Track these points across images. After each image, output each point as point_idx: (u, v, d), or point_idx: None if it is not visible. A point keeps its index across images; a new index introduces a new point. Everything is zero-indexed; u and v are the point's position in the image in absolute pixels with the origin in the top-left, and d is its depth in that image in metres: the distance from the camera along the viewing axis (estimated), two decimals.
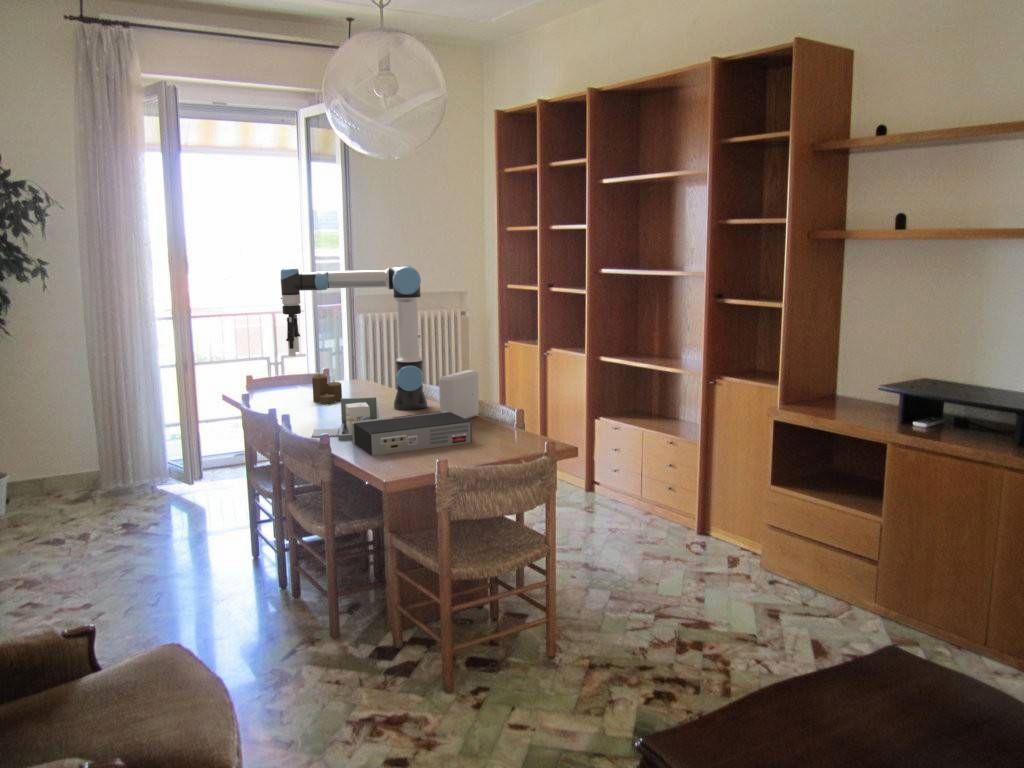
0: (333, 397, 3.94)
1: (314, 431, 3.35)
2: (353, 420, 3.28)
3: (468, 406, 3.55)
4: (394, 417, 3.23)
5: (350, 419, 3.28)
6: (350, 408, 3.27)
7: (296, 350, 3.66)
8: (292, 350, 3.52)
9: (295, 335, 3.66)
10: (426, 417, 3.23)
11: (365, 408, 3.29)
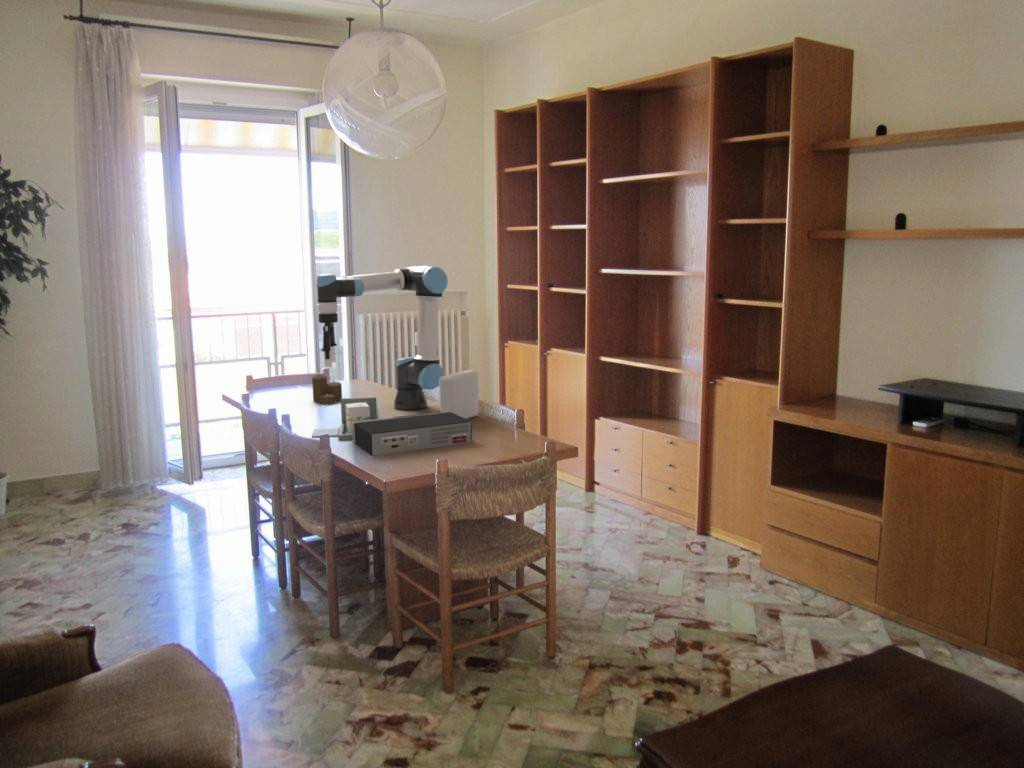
0: (333, 397, 3.94)
1: (314, 431, 3.35)
2: (353, 420, 3.28)
3: (468, 406, 3.55)
4: (394, 417, 3.23)
5: (350, 419, 3.28)
6: (350, 408, 3.27)
7: (332, 360, 3.47)
8: (328, 361, 3.34)
9: (331, 344, 3.47)
10: (426, 417, 3.23)
11: (365, 408, 3.29)
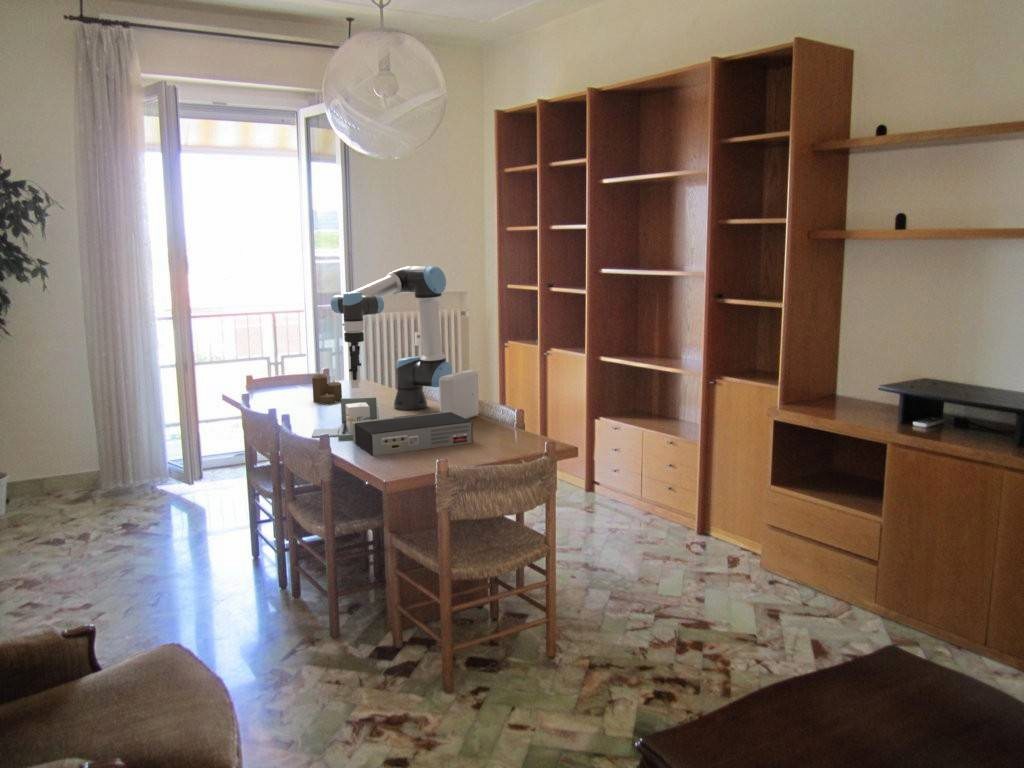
0: (333, 397, 3.94)
1: (314, 431, 3.35)
2: (353, 420, 3.28)
3: (468, 406, 3.55)
4: (395, 417, 3.23)
5: (350, 419, 3.28)
6: (350, 408, 3.27)
7: None
8: (355, 381, 3.23)
9: None
10: (427, 417, 3.23)
11: (365, 408, 3.29)
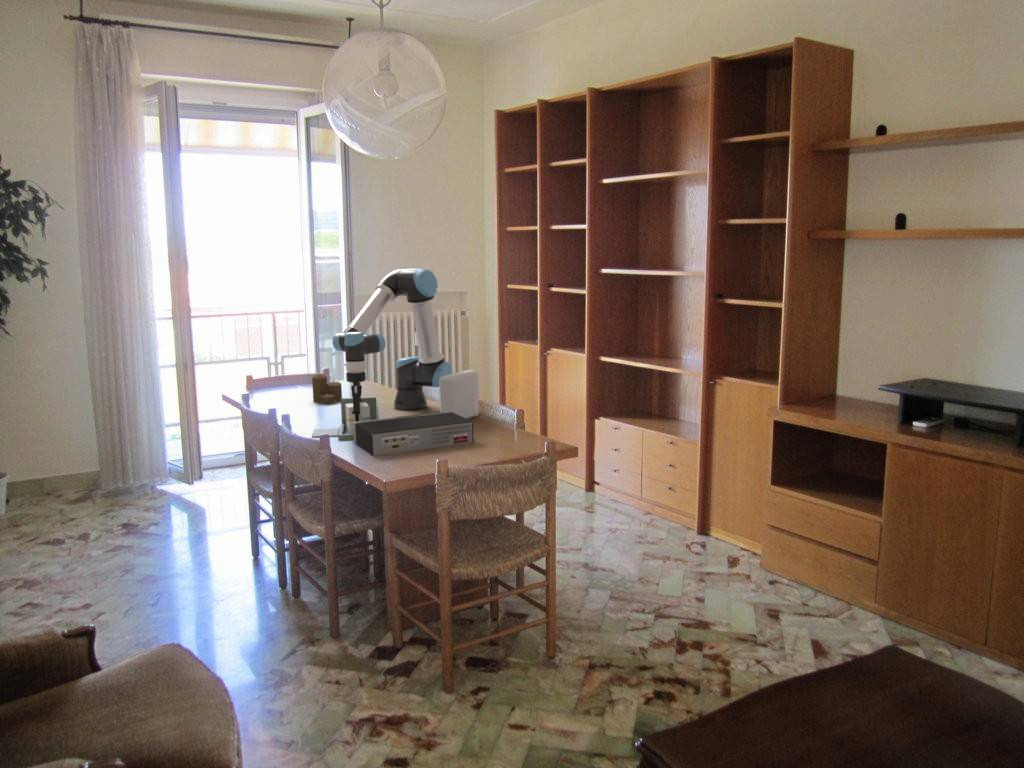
0: (333, 397, 3.94)
1: (314, 431, 3.35)
2: (353, 420, 3.28)
3: (468, 406, 3.55)
4: (396, 417, 3.23)
5: (350, 419, 3.28)
6: (350, 408, 3.27)
7: None
8: None
9: None
10: (428, 417, 3.23)
11: (365, 408, 3.29)
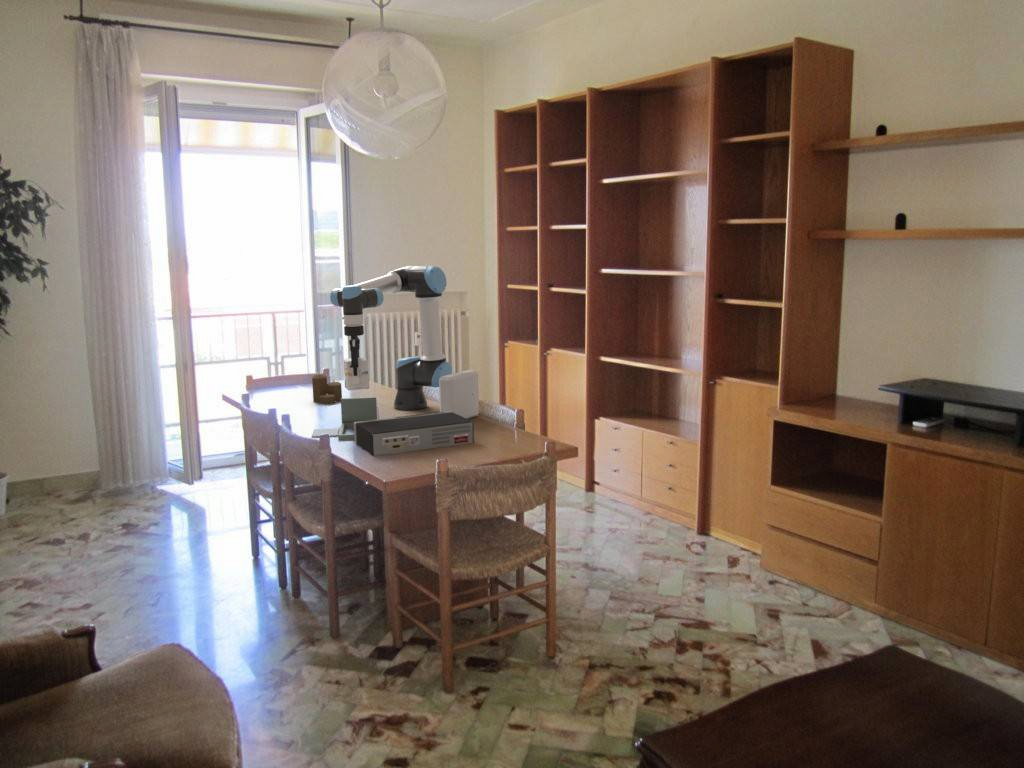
0: (333, 397, 3.94)
1: (314, 431, 3.35)
2: (351, 374, 3.25)
3: (468, 406, 3.55)
4: (396, 417, 3.23)
5: (348, 373, 3.25)
6: (348, 362, 3.24)
7: None
8: (356, 377, 3.25)
9: None
10: (428, 417, 3.22)
11: (363, 362, 3.26)
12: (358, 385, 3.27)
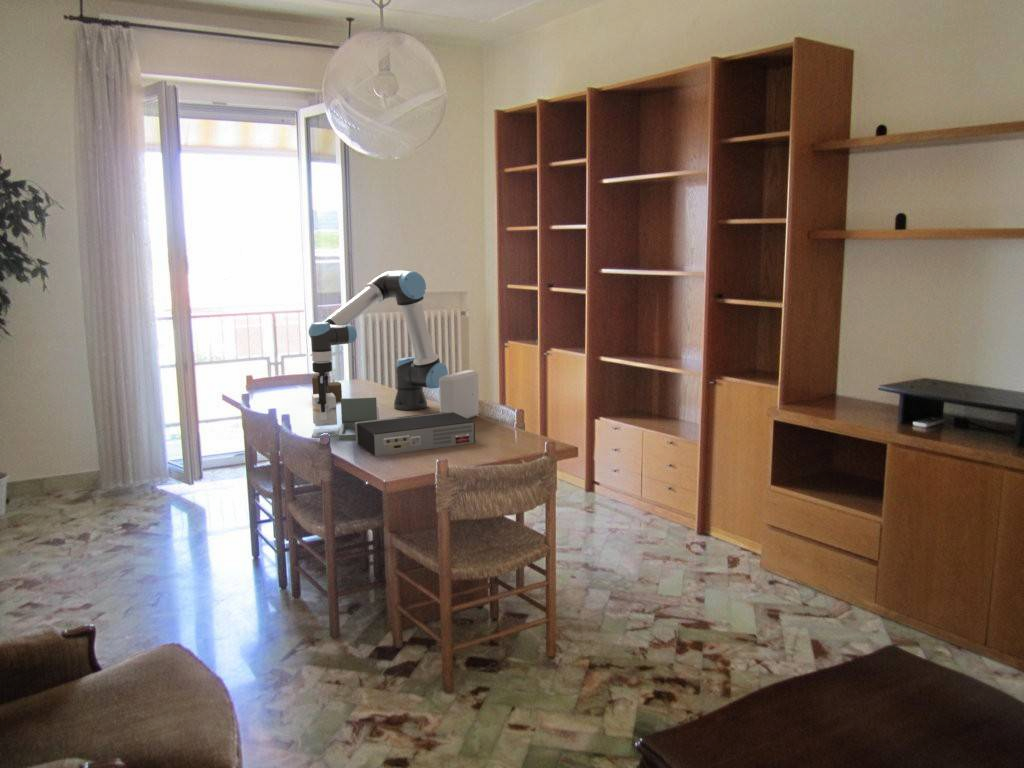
0: None
1: (314, 431, 3.35)
2: (319, 410, 3.27)
3: (468, 406, 3.55)
4: (397, 417, 3.23)
5: (316, 409, 3.27)
6: (316, 398, 3.26)
7: None
8: (324, 413, 3.27)
9: None
10: (429, 417, 3.22)
11: (331, 398, 3.28)
12: (326, 421, 3.29)
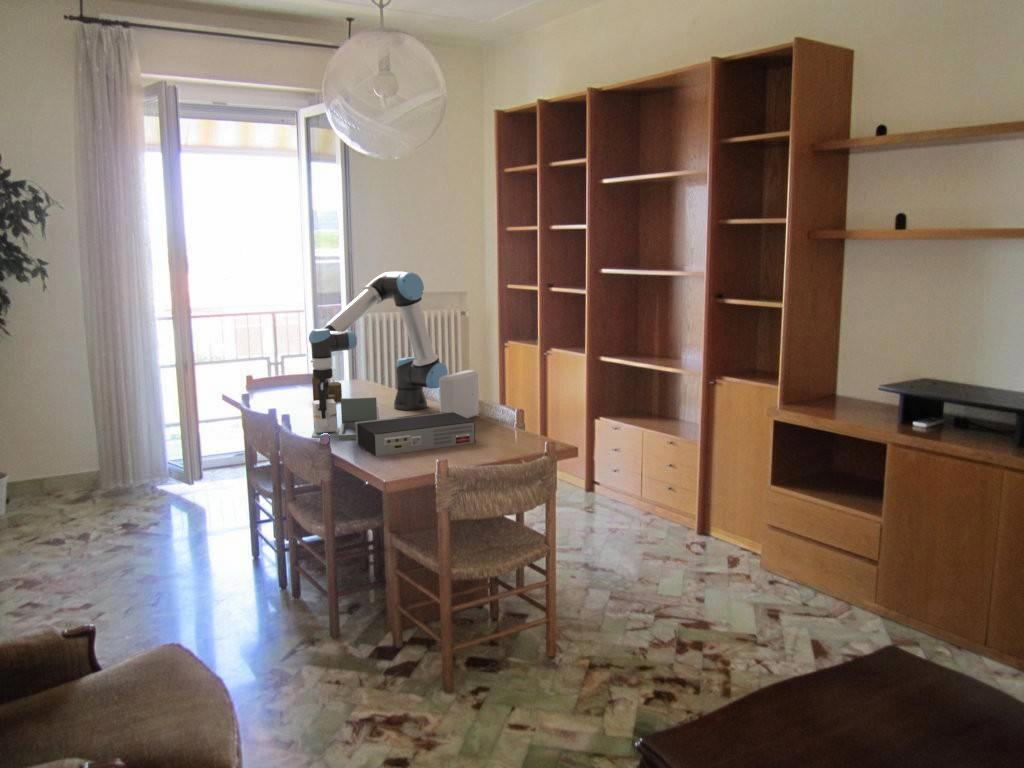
0: (333, 397, 3.94)
1: (314, 431, 3.35)
2: (319, 417, 3.28)
3: (468, 406, 3.55)
4: (397, 417, 3.23)
5: (316, 416, 3.27)
6: (316, 405, 3.27)
7: None
8: (324, 420, 3.27)
9: None
10: (429, 417, 3.22)
11: (332, 405, 3.29)
12: (326, 427, 3.29)
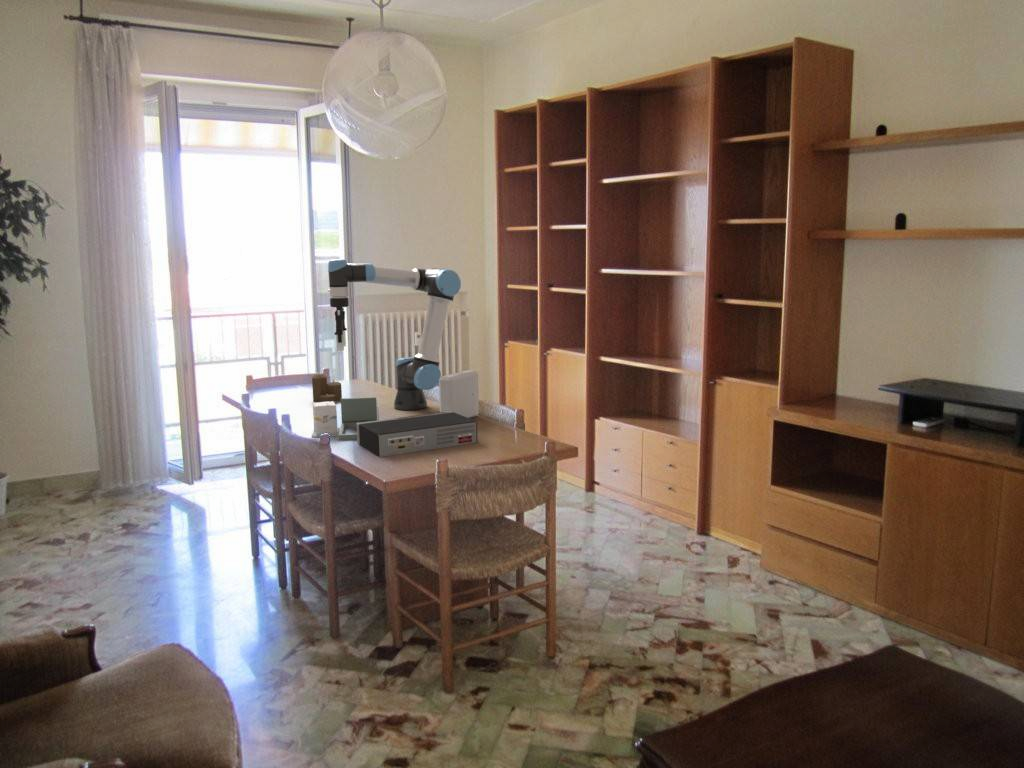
0: (333, 397, 3.95)
1: (314, 431, 3.35)
2: (319, 419, 3.28)
3: (468, 406, 3.55)
4: (398, 418, 3.22)
5: (316, 418, 3.27)
6: (316, 407, 3.27)
7: None
8: (340, 344, 3.40)
9: (342, 329, 3.53)
10: (431, 417, 3.22)
11: (332, 407, 3.29)
12: (326, 430, 3.29)
